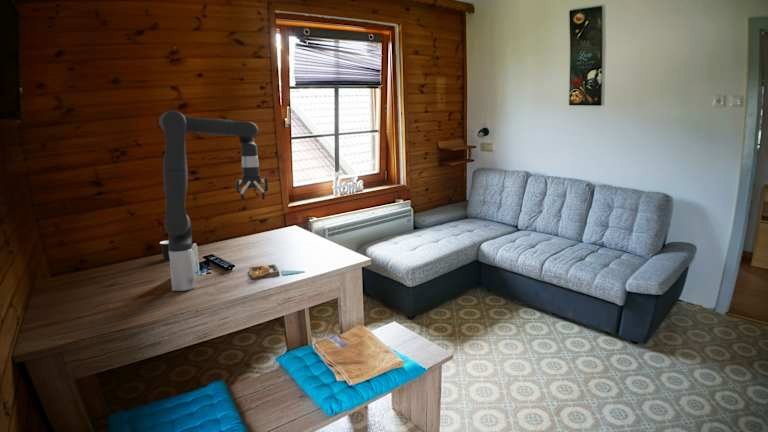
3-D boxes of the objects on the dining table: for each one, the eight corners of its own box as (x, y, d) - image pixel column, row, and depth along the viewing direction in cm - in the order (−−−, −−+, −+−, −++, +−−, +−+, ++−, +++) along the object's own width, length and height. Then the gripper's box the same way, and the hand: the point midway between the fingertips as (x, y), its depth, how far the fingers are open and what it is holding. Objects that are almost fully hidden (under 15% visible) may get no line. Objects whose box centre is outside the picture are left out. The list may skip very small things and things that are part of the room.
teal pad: (283, 275, 198) (283, 274, 198) (279, 270, 208) (279, 269, 207) (305, 272, 202) (305, 271, 202) (300, 267, 211) (300, 266, 211)
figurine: (276, 266, 201) (263, 264, 190) (274, 279, 200) (261, 277, 189) (260, 265, 203) (246, 262, 192) (258, 278, 202) (243, 276, 191)
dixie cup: (179, 262, 229) (177, 241, 227) (162, 264, 225) (160, 244, 223) (176, 259, 235) (174, 239, 234) (160, 261, 231) (158, 241, 229)
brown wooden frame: (252, 279, 194) (251, 274, 194) (249, 271, 207) (249, 267, 207) (279, 275, 198) (279, 271, 198) (275, 268, 211) (275, 264, 211)
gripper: (234, 167, 196) (237, 203, 198) (267, 165, 201) (269, 200, 203) (233, 166, 203) (236, 201, 205) (265, 165, 208) (267, 199, 210)
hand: (253, 201), depth 204 cm, fingers open, 8 cm apart
